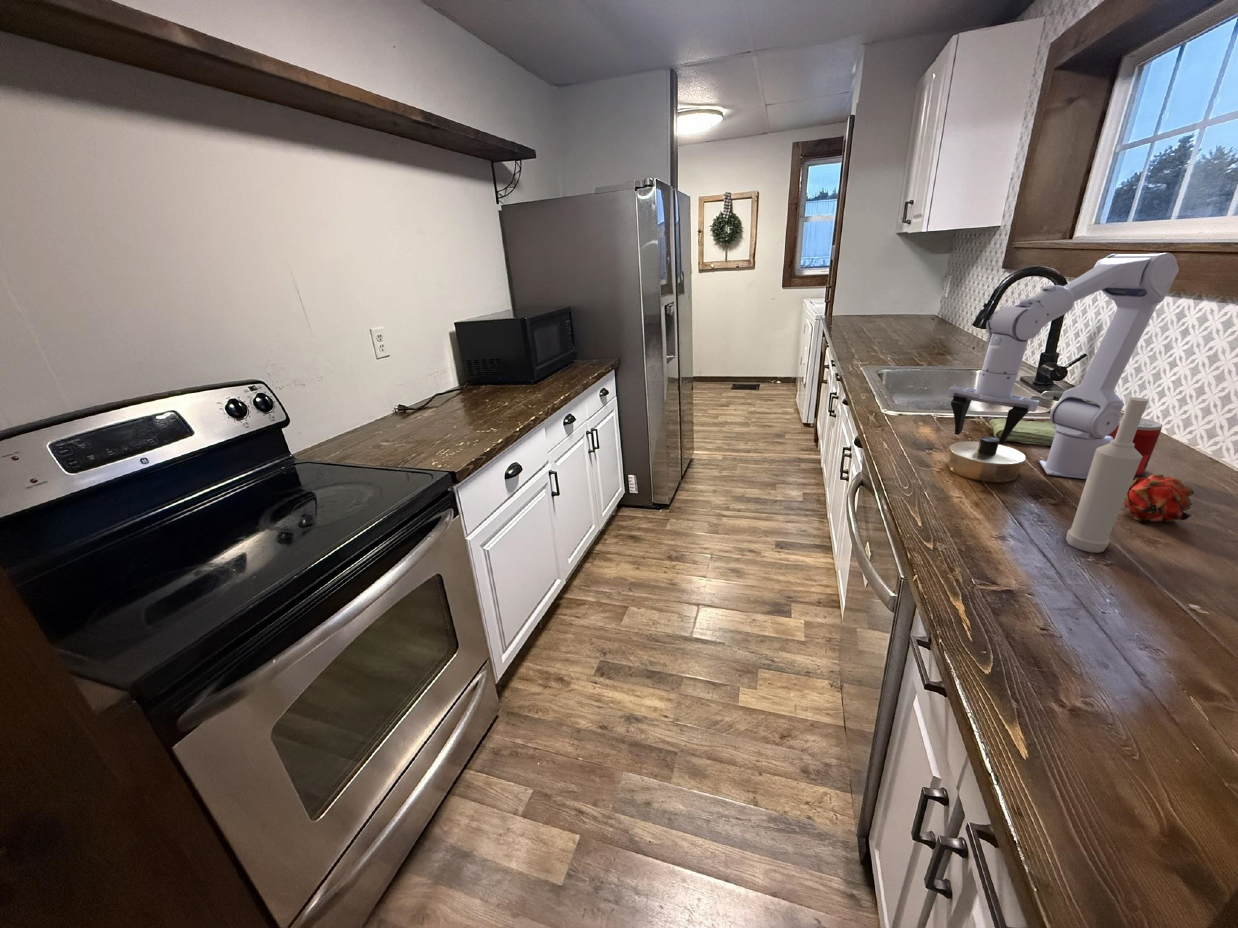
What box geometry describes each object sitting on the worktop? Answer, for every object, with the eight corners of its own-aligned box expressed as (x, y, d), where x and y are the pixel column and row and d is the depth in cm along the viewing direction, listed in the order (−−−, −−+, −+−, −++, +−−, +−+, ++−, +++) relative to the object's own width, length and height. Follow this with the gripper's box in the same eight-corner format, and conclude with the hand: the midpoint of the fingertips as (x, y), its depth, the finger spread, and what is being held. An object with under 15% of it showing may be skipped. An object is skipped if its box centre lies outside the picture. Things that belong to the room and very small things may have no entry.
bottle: (1096, 539, 84) (1150, 395, 74) (1113, 555, 79) (1172, 404, 70) (1059, 535, 86) (1107, 394, 76) (1073, 550, 81) (1126, 403, 72)
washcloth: (1083, 450, 119) (1087, 437, 118) (993, 441, 127) (996, 429, 126) (1068, 433, 130) (1072, 421, 129) (986, 426, 138) (989, 415, 136)
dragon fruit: (1155, 513, 94) (1144, 545, 87) (1114, 480, 96) (1100, 509, 90) (1210, 491, 87) (1201, 523, 81) (1164, 456, 89) (1152, 485, 83)
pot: (1011, 464, 113) (1015, 448, 112) (1022, 486, 103) (1027, 468, 102) (946, 457, 119) (949, 441, 117) (950, 477, 109) (954, 460, 107)
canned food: (1153, 477, 104) (1173, 427, 100) (1108, 475, 106) (1126, 427, 102) (1127, 463, 111) (1144, 416, 107) (1085, 462, 113) (1101, 415, 109)
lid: (1017, 450, 112) (1022, 432, 111) (1030, 472, 101) (1036, 453, 99) (946, 443, 118) (950, 426, 117) (951, 463, 107) (955, 445, 106)
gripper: (950, 368, 98) (933, 433, 103) (1042, 380, 88) (1018, 452, 93) (961, 364, 103) (944, 426, 108) (1049, 375, 93) (1026, 444, 98)
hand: (979, 438), depth 101 cm, fingers open, 7 cm apart
